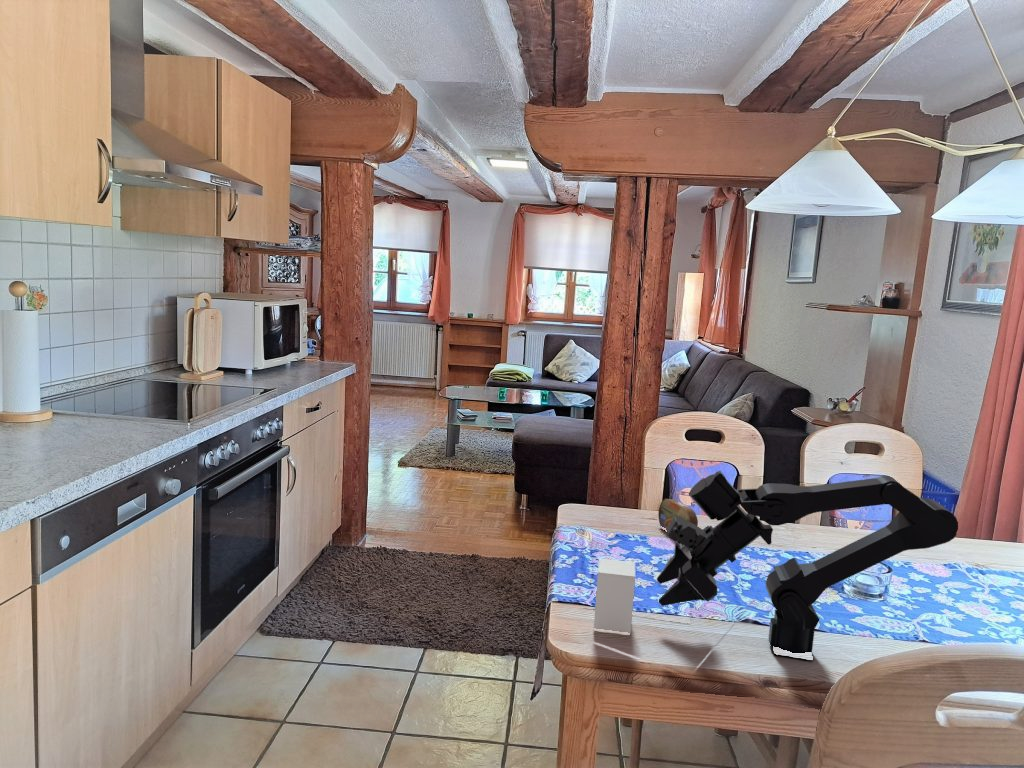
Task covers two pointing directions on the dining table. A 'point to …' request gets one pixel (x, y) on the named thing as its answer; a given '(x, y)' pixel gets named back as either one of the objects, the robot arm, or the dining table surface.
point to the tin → (675, 512)
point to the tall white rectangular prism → (614, 595)
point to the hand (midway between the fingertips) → (659, 592)
